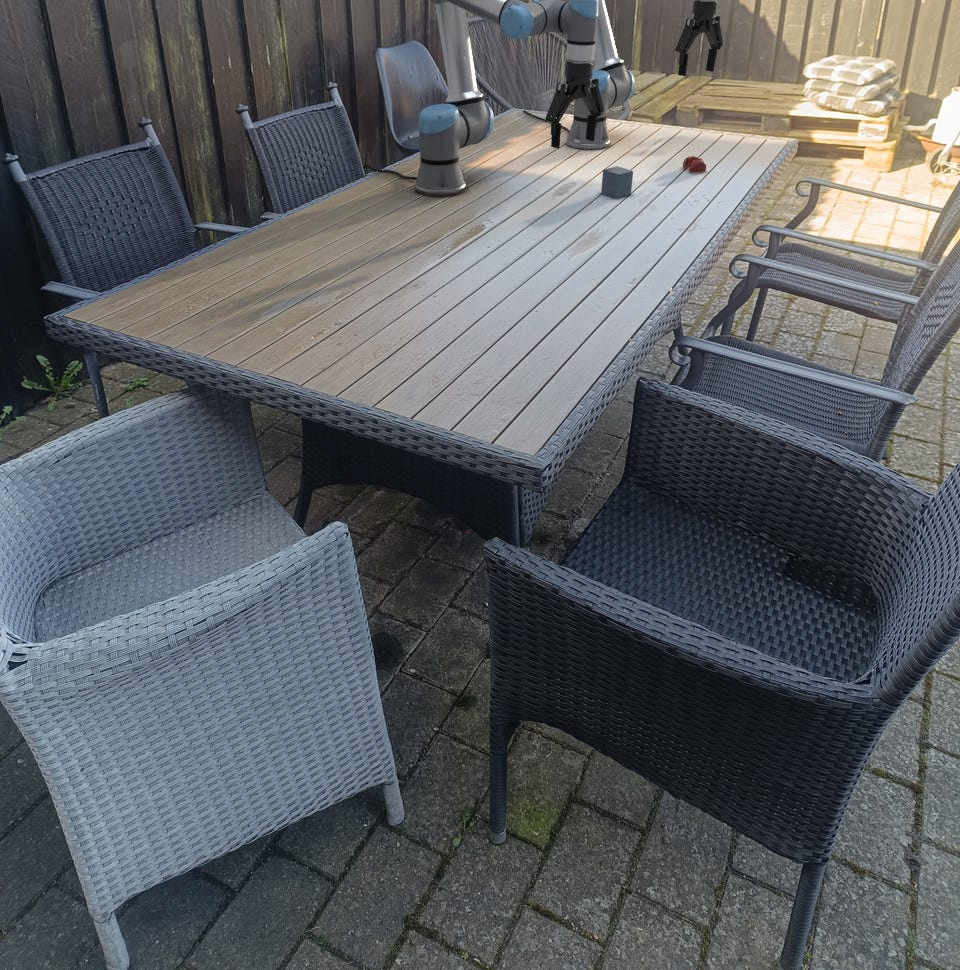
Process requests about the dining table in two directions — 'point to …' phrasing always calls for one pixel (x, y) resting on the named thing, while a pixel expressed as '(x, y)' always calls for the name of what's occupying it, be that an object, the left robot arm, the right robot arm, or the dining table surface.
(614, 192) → the cube
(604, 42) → the right robot arm
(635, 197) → the dining table surface
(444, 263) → the dining table surface
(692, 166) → the dark red rounded lump
